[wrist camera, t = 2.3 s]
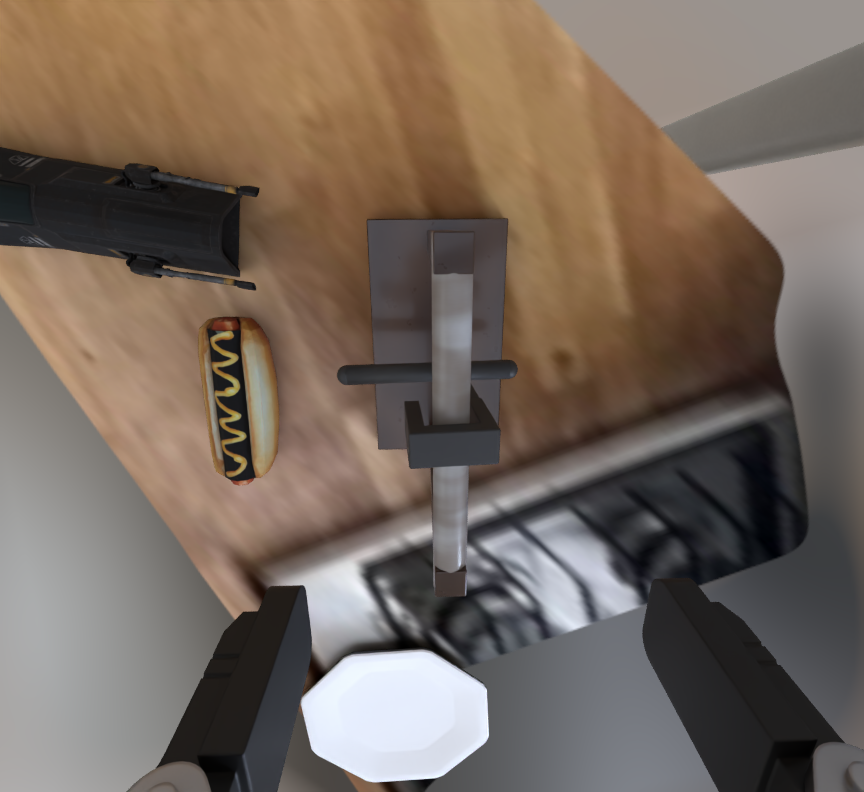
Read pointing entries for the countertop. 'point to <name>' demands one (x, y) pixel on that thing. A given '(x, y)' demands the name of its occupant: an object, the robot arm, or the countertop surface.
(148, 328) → the countertop surface
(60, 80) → the countertop surface
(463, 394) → the rail stand
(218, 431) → the hot dog
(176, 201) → the black toy vehicle
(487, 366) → the hanger
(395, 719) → the plate
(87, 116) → the countertop surface
